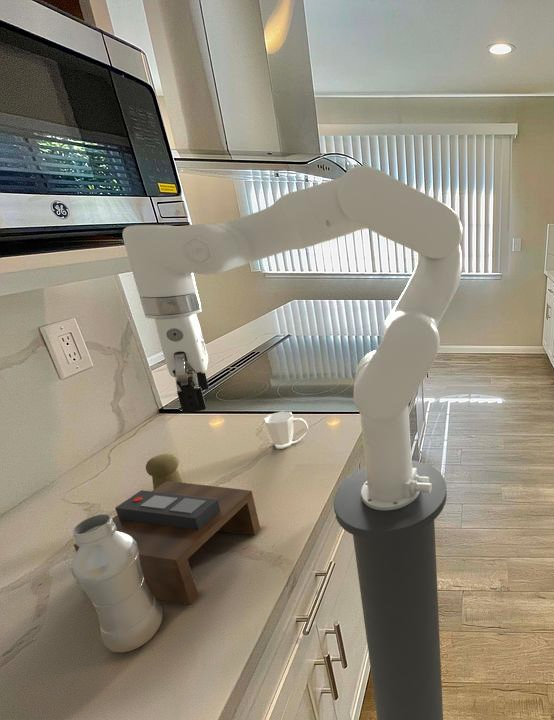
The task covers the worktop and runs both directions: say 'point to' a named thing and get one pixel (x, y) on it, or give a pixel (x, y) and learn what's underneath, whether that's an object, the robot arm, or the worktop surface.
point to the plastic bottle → (115, 584)
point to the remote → (168, 509)
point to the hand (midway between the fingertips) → (196, 400)
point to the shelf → (186, 539)
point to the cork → (163, 469)
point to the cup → (282, 428)
